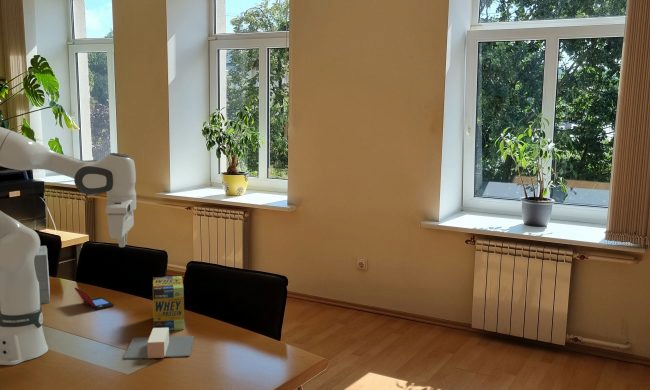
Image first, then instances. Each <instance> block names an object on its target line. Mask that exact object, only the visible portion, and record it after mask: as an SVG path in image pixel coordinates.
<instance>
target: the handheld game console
mask: <svg viewBox="0 0 650 390" xmlns="http://www.w3.org/2000/svg"><path fill="white" fill-rule="evenodd" d="M74 290H75V291H76V292H77V294H78V295H79V296H80V297H81V299H82V301H83V303H84V304H85V305H87V306H88V307H91V309H93V310H94V311H96V312H97V311H99V310H101V311H102V310H105V309H109V308H113V307H114V306H115V304H114V303H113V302H111V301H109V300H108V299H106V298H104V297H96V298H91V297H90V296H89V295H88V294H87V293H85V292H84V291H82V290H81V289H79V288H77V287H74Z"/></svg>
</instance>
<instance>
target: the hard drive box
mask: <svg viewBox="0 0 650 390" xmlns="http://www.w3.org/2000/svg"><path fill="white" fill-rule="evenodd" d="M34 266H35V272H36V276H37V280H38V282H39V293H40V305H43V304H49V303H50V298H51V297H50V295H51V293H50V292H51V289H50V275H49V274H50V273H49V260H48V248H47V245H40V249H39V251H38V253H37V254H36V256H35V258H34Z"/></svg>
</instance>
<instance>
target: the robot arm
mask: <svg viewBox="0 0 650 390" xmlns="http://www.w3.org/2000/svg"><path fill="white" fill-rule="evenodd" d="M0 167H3V168H7V169H11V170H16V171H31V170H45V171H50V172H53V173H56V174H59V175H63V176H65V177H68V178H71V179H74V185H75V187H76V189H77V190H78V191H79V192H80V193H82V194H85V195H89V196H94V195H98V194H103V193H106V200H107V201H106V206H105V214H106V215H107V227H108V235H109V237H110V239H117V242H118V247H119V248H125V246H126V245H127V239H128V232H129V231H130V230H131V229H132V228H133V227H134V225H135V222H134V221H135V220H134V219H135V218H134V211H135V210H137V191H136V187H135V186H136V183H137V175H136V174H137V173H136V165H135V161H134V158H133V157H131V156H130V155H128V154H123V153H119V152H117V153H116V152H110V153H108V154H107V155H105V156H104V157H103V158H100V159H98V160H97V159H93V160H92V159H89V160H83V159H82V160H81V159H78V158H75V157H72V156H69V155H67V154H63V153H60V152H57V151H54V150H52V149H50V148H48V147H46V146H44V145H43V144H40V143H38V142H37V141H35V140H33V139H31V138H29V137H26V135H23V134H22V133H18V132H16V131H13V130H11V129H8V128H6V127H5V128H4V127H1V126H0ZM40 246H41V239H40V236H39V234H38V233H37V232H36V231H35V230H34V229H33V228H30V227H28V226H26V225H24V224H22V222H20V221H18V220H16V219H15V218H13V217H12V216H9V215H8V214H6V213H5V212H3V211H2V210H0V365H1V366H2V365H4V366H15V365H18V364H21V363H22V362H25V361H29V360H34V359H36V358H39V357H41V356H43V355H44V354H46V353H47V352H48V351H49V345H48V343H47V341H46V337H45V333H44V329H43V328H44V327H43V324H44V323H43V322H44V316H43V315H44V314H43V308H42V307H43V306H41V304H40V293H39V282H38V280H37V276H36V272H35V266H34V258H35V256H36V254H37V253H38V251H39V249H40Z"/></svg>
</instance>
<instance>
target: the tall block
mask: <svg viewBox="0 0 650 390" xmlns="http://www.w3.org/2000/svg"><path fill="white" fill-rule="evenodd" d="M148 337H149V340H148V342H147V349H148V358H147V359H165V358H164V357H165V354H166V351H167V347H168V344H169V337H170V331H169V328H154V327H153V328H152V330H151V332H150V335H149V336H148Z"/></svg>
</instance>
